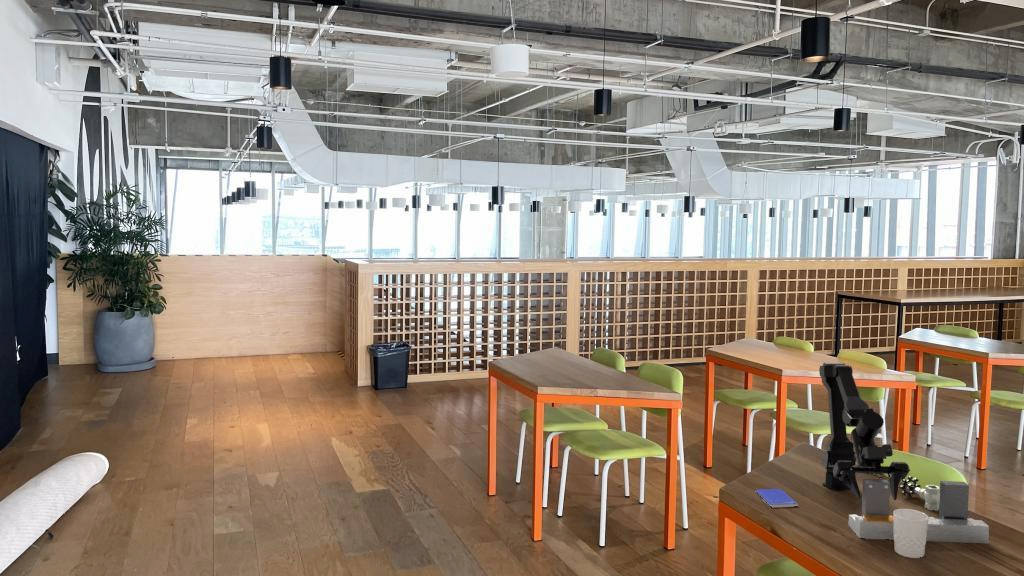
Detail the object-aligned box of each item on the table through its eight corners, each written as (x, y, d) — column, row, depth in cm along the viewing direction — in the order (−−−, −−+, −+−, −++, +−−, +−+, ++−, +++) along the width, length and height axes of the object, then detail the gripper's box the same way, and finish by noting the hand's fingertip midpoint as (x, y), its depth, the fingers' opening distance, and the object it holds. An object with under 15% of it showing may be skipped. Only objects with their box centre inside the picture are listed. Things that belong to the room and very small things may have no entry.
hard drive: (798, 503, 226) (780, 488, 238) (771, 503, 225) (755, 489, 238) (798, 508, 226) (780, 493, 238) (770, 509, 225) (755, 494, 238)
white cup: (885, 546, 198) (886, 509, 197) (914, 545, 199) (916, 507, 198) (903, 560, 190) (905, 521, 189) (933, 558, 191) (935, 519, 190)
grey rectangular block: (861, 524, 211) (862, 478, 209) (884, 525, 210) (885, 479, 209) (865, 529, 207) (867, 482, 206) (888, 530, 207) (890, 483, 205)
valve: (947, 510, 222) (918, 496, 234) (948, 488, 221) (918, 474, 233) (927, 512, 221) (898, 497, 233) (928, 490, 220) (899, 476, 232)
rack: (848, 524, 212) (849, 476, 211) (970, 528, 209) (973, 480, 208) (859, 538, 203) (861, 488, 202) (988, 543, 199) (990, 492, 198)
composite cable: (887, 478, 250) (888, 471, 250) (875, 479, 249) (875, 472, 249) (867, 469, 259) (867, 462, 259) (855, 470, 258) (855, 463, 258)
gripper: (837, 432, 211) (848, 484, 202) (908, 433, 209) (923, 487, 199) (828, 451, 220) (838, 502, 210) (896, 452, 218) (910, 505, 208)
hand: (877, 499), depth 207 cm, fingers open, 9 cm apart
